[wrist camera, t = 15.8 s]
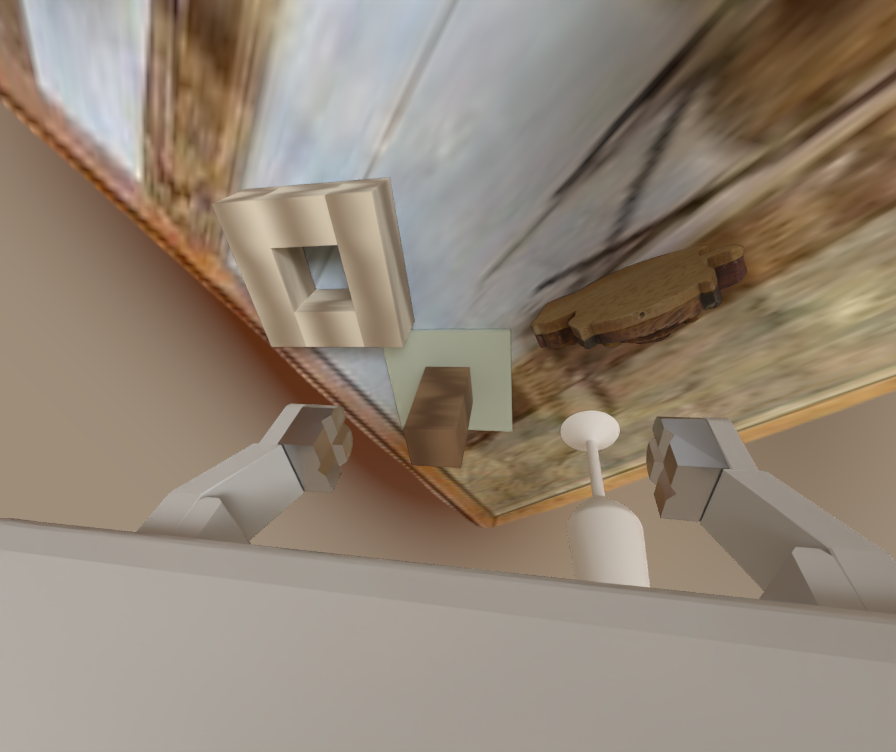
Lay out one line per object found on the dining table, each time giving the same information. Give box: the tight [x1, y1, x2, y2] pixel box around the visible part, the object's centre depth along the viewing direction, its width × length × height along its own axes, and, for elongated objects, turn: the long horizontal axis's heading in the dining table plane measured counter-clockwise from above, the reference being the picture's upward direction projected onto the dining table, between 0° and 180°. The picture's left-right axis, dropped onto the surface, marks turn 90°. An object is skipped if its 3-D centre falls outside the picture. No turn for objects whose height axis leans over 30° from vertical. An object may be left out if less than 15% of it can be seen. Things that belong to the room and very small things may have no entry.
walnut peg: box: [403, 367, 473, 468], centre depth 43 cm, size 5×5×10 cm
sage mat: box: [383, 329, 512, 432], centre depth 48 cm, size 14×14×1 cm
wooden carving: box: [531, 245, 747, 349], centre depth 34 cm, size 16×5×10 cm, turn 125°
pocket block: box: [212, 178, 415, 347], centre depth 39 cm, size 14×14×5 cm
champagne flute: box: [560, 411, 650, 587], centre depth 39 cm, size 7×7×24 cm
